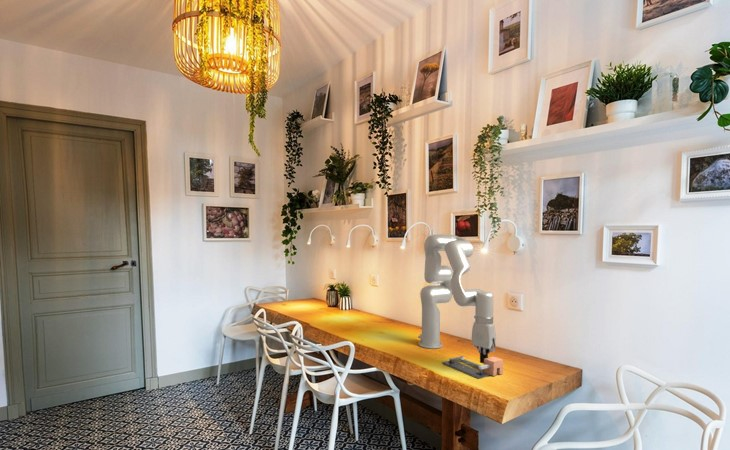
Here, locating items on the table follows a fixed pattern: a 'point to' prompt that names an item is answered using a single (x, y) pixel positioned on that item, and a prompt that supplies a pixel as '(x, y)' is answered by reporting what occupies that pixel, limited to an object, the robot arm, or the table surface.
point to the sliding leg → (492, 366)
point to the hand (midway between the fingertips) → (483, 362)
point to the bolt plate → (466, 369)
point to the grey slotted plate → (464, 361)
